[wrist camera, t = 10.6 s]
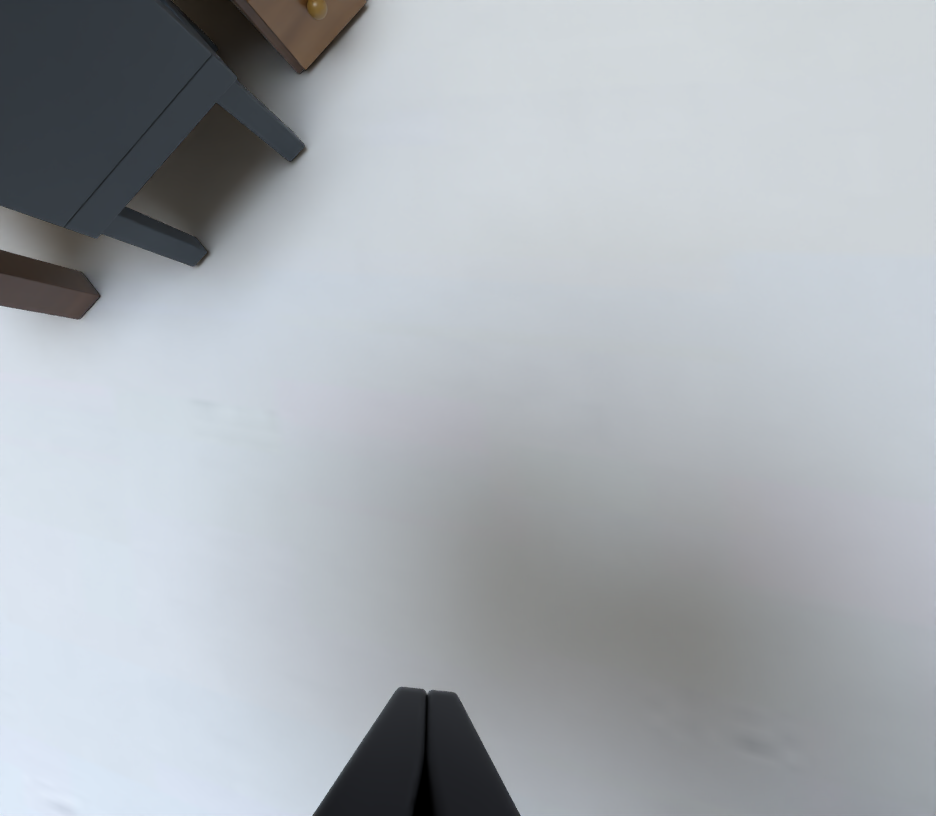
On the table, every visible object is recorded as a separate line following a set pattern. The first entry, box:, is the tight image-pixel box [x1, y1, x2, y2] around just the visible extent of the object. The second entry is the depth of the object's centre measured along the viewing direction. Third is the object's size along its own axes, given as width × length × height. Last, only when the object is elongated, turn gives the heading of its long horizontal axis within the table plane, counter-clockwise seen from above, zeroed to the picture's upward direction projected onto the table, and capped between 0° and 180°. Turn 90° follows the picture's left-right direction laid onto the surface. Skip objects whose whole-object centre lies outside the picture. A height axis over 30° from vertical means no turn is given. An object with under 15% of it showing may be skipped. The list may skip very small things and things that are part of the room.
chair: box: [0, 0, 305, 266], centre depth 18 cm, size 7×7×11 cm
